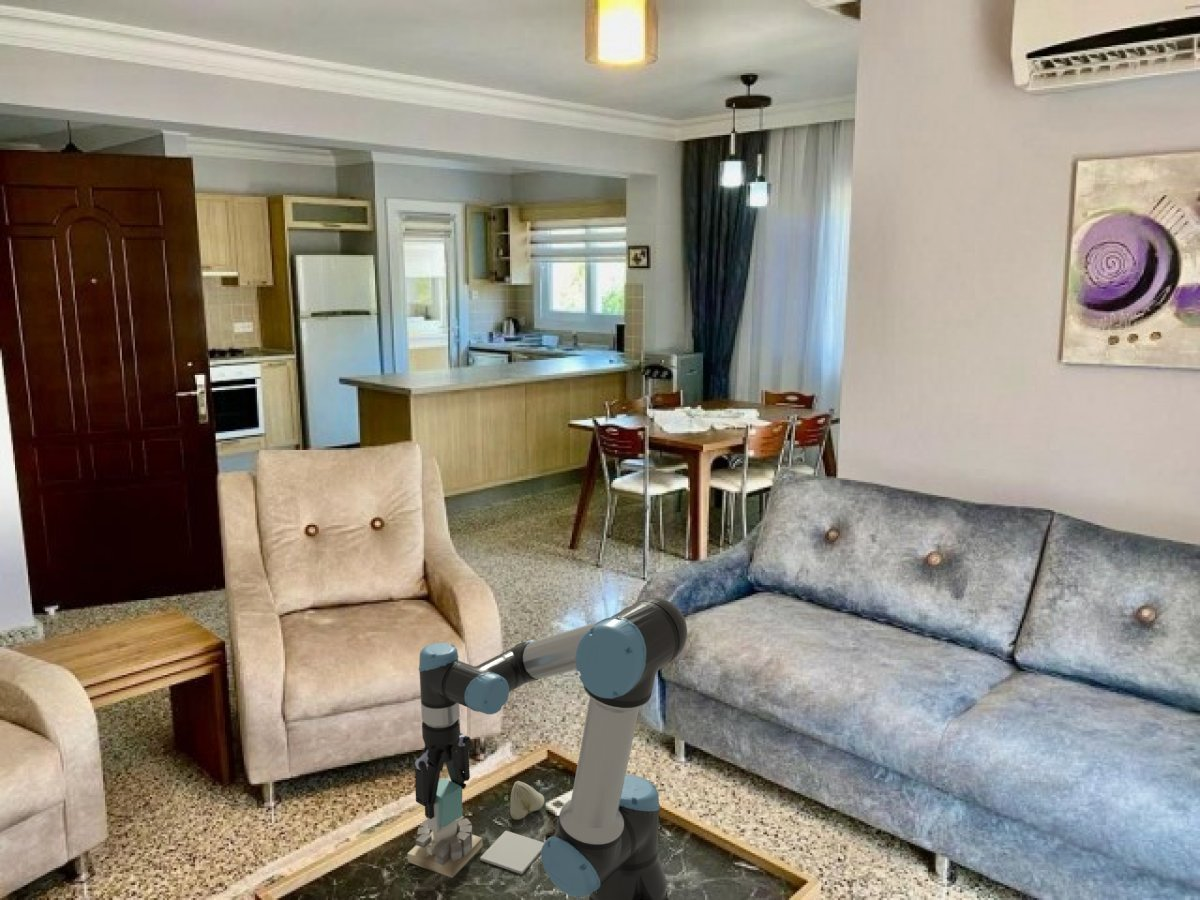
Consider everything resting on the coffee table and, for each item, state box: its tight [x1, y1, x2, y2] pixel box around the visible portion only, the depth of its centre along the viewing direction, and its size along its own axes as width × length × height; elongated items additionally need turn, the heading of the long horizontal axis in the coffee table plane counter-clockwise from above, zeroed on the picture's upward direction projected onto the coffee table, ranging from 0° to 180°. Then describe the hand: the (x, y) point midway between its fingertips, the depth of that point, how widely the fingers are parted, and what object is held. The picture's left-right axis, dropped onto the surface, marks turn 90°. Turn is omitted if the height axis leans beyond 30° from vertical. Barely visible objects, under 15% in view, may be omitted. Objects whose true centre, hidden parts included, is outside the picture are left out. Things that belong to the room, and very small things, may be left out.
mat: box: [479, 830, 545, 875], centre depth 190 cm, size 10×10×1 cm
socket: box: [406, 815, 483, 879], centre depth 189 cm, size 11×11×6 cm
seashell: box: [509, 780, 545, 820], centre depth 204 cm, size 8×8×8 cm
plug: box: [425, 777, 463, 855], centre depth 187 cm, size 7×5×13 cm
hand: (444, 822), depth 188 cm, fingers closed on plug, 5 cm apart
